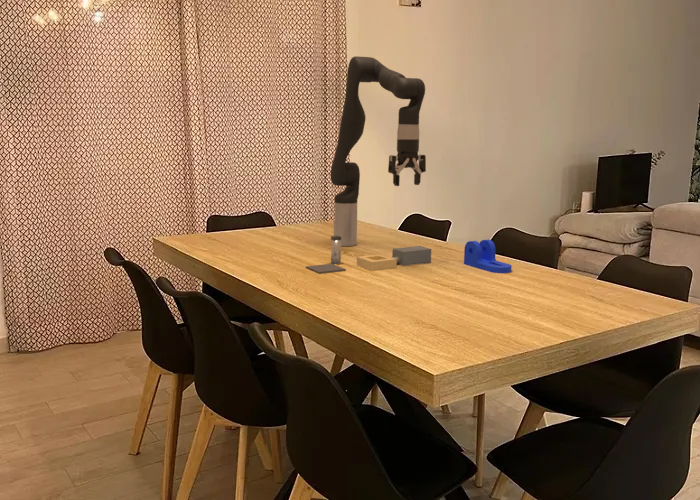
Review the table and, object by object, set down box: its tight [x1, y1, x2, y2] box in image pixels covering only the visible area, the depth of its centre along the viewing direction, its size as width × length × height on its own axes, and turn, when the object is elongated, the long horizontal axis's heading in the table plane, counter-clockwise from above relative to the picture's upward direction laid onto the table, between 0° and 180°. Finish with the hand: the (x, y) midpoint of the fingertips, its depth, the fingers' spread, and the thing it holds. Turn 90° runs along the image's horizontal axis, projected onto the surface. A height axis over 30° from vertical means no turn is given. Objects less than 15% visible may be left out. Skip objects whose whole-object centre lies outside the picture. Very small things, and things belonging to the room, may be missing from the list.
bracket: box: [463, 239, 513, 274], centre depth 244 cm, size 18×8×9 cm, turn 29°
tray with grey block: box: [356, 245, 432, 271], centre depth 248 cm, size 26×10×5 cm, turn 121°
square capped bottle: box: [330, 235, 342, 265], centre depth 248 cm, size 3×3×10 cm
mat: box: [305, 263, 347, 275], centre depth 239 cm, size 10×10×1 cm
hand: (406, 185), depth 243 cm, fingers open, 8 cm apart
